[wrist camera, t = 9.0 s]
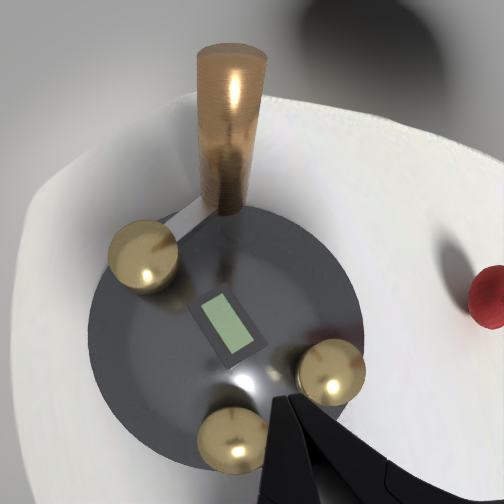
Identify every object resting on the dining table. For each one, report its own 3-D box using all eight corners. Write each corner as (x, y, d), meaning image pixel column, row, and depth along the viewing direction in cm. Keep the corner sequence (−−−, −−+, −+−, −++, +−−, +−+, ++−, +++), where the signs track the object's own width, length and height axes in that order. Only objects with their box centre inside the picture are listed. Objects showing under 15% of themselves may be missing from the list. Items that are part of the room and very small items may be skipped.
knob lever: (142, 308, 19) (58, 195, 8) (103, 261, 20) (23, 136, 9) (261, 204, 24) (292, 63, 13) (218, 171, 25) (224, 35, 14)
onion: (492, 330, 22) (546, 304, 15) (460, 343, 21) (522, 318, 14) (478, 280, 25) (528, 245, 18) (446, 287, 24) (501, 249, 17)
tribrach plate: (400, 359, 21) (422, 352, 18) (187, 510, 14) (183, 526, 11) (260, 179, 27) (265, 157, 24) (60, 284, 20) (43, 269, 18)
